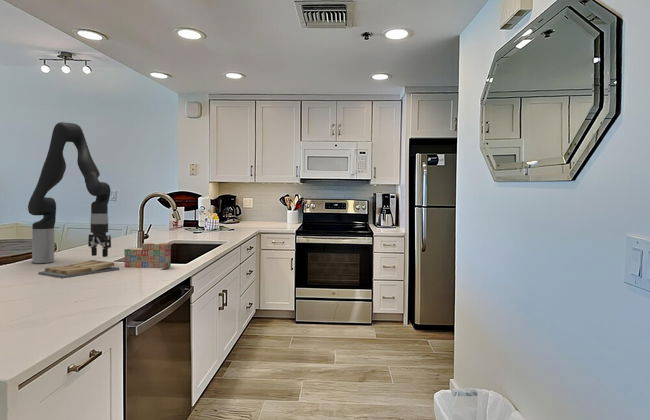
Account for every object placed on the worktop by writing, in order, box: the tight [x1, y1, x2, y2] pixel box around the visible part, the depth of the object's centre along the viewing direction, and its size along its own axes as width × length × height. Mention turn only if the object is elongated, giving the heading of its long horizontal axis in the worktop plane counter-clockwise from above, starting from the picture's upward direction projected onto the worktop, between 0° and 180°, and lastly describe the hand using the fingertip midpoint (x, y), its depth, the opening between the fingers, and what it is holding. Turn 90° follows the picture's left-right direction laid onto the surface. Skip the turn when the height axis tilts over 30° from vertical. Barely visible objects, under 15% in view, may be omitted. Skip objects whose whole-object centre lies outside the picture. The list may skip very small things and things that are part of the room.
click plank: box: [69, 259, 115, 271], centre depth 191 cm, size 18×11×2 cm, turn 62°
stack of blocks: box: [124, 242, 172, 269], centre depth 203 cm, size 21×6×12 cm, turn 86°
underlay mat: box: [37, 266, 120, 279], centre depth 187 cm, size 19×26×1 cm
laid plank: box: [44, 264, 91, 275], centre depth 182 cm, size 18×10×2 cm, turn 62°
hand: (99, 256), depth 195 cm, fingers open, 8 cm apart
